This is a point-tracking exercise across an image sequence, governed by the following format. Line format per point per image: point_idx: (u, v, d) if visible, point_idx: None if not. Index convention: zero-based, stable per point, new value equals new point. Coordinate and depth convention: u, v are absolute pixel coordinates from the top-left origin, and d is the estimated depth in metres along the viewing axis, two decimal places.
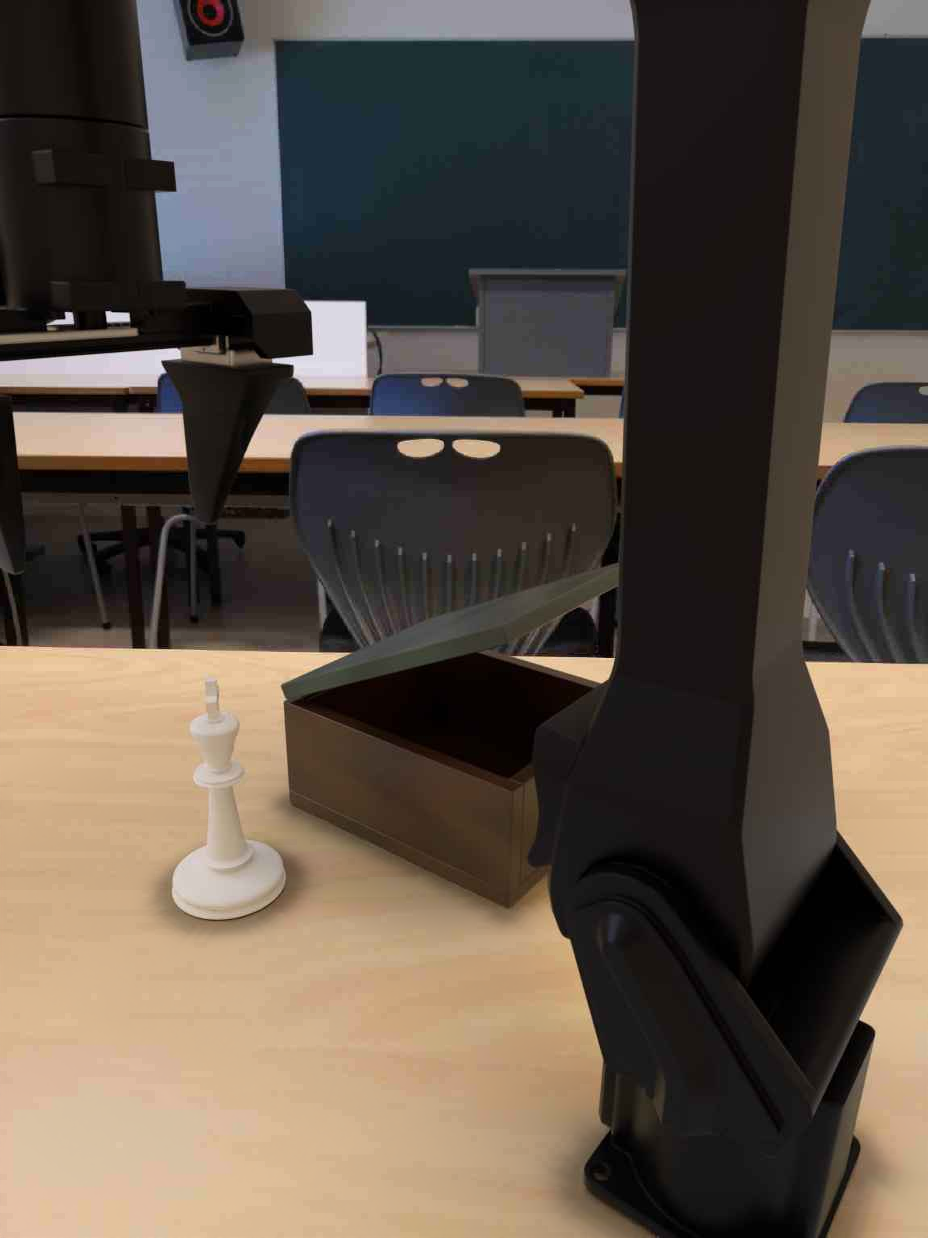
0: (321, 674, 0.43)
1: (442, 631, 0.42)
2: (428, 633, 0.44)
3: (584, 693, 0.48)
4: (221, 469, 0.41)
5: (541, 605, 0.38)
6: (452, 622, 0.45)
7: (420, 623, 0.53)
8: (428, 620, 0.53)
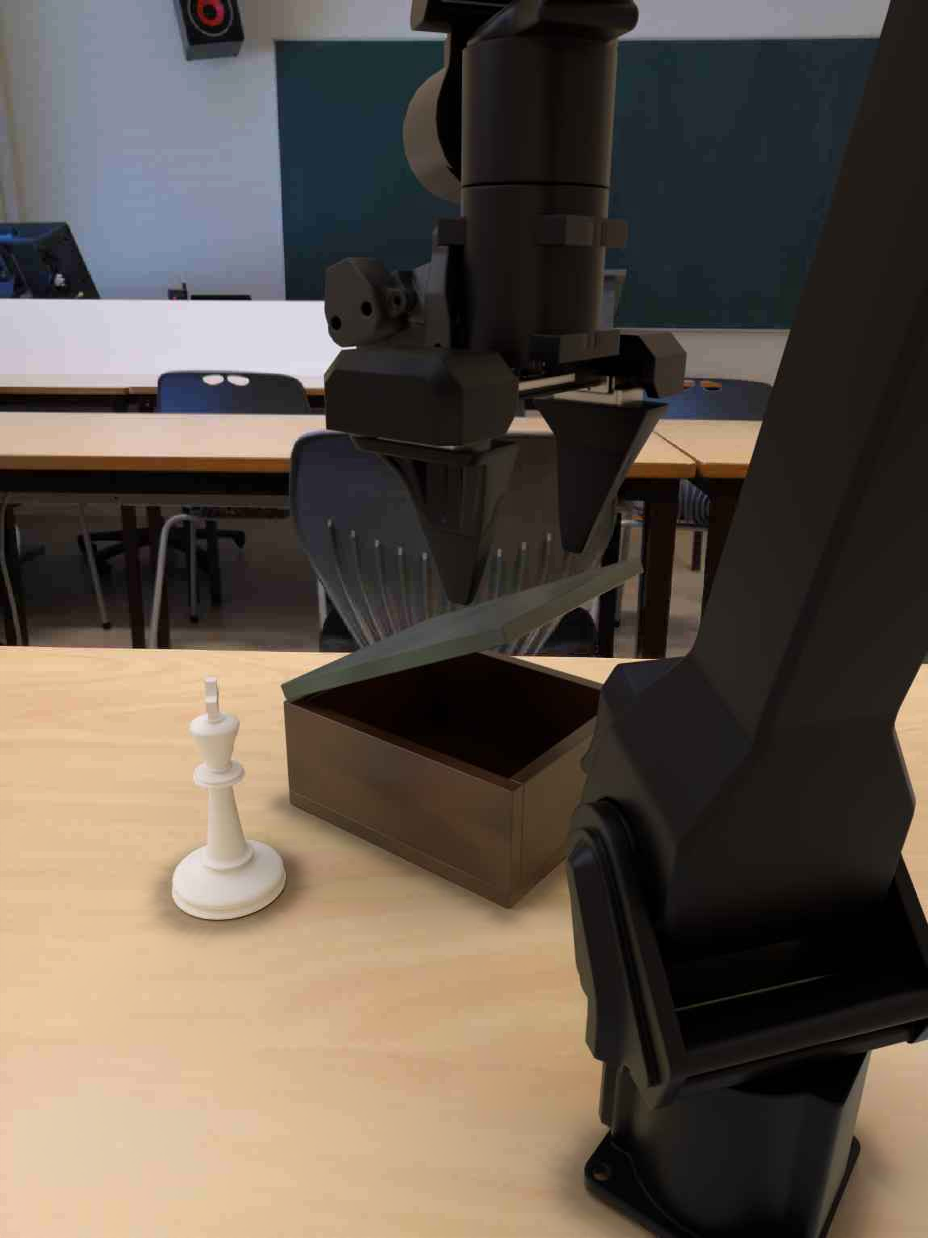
0: (321, 674, 0.43)
1: (442, 631, 0.42)
2: (428, 633, 0.44)
3: (584, 693, 0.48)
4: (601, 502, 0.43)
5: (541, 605, 0.38)
6: (452, 622, 0.45)
7: (420, 623, 0.53)
8: (428, 620, 0.53)
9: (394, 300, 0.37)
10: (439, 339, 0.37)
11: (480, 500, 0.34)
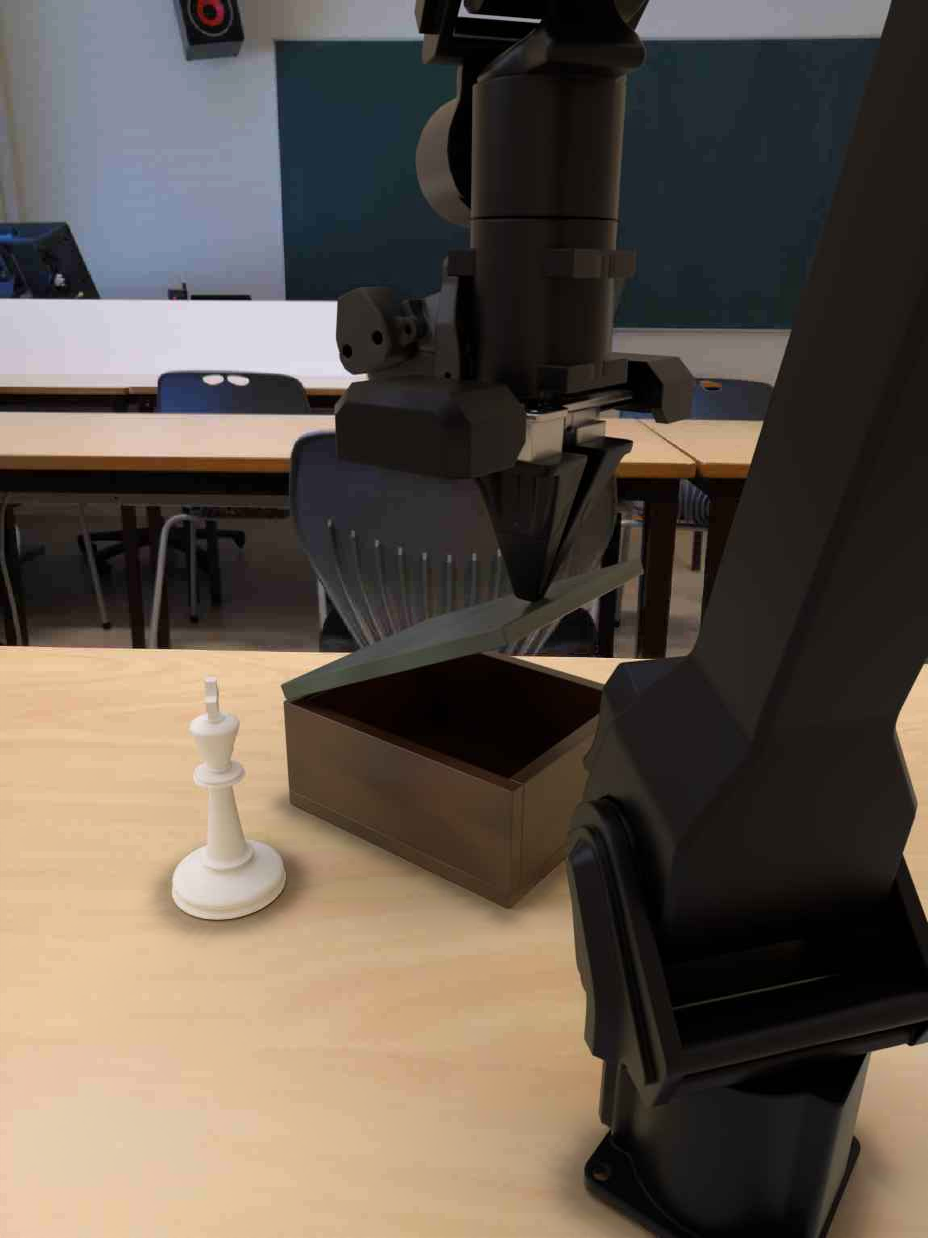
0: (321, 674, 0.43)
1: (442, 632, 0.42)
2: (428, 634, 0.44)
3: (584, 693, 0.48)
4: (560, 546, 0.40)
5: (542, 606, 0.38)
6: (452, 623, 0.45)
7: (420, 623, 0.53)
8: (428, 620, 0.53)
9: (404, 329, 0.38)
10: (449, 368, 0.38)
11: (552, 507, 0.38)
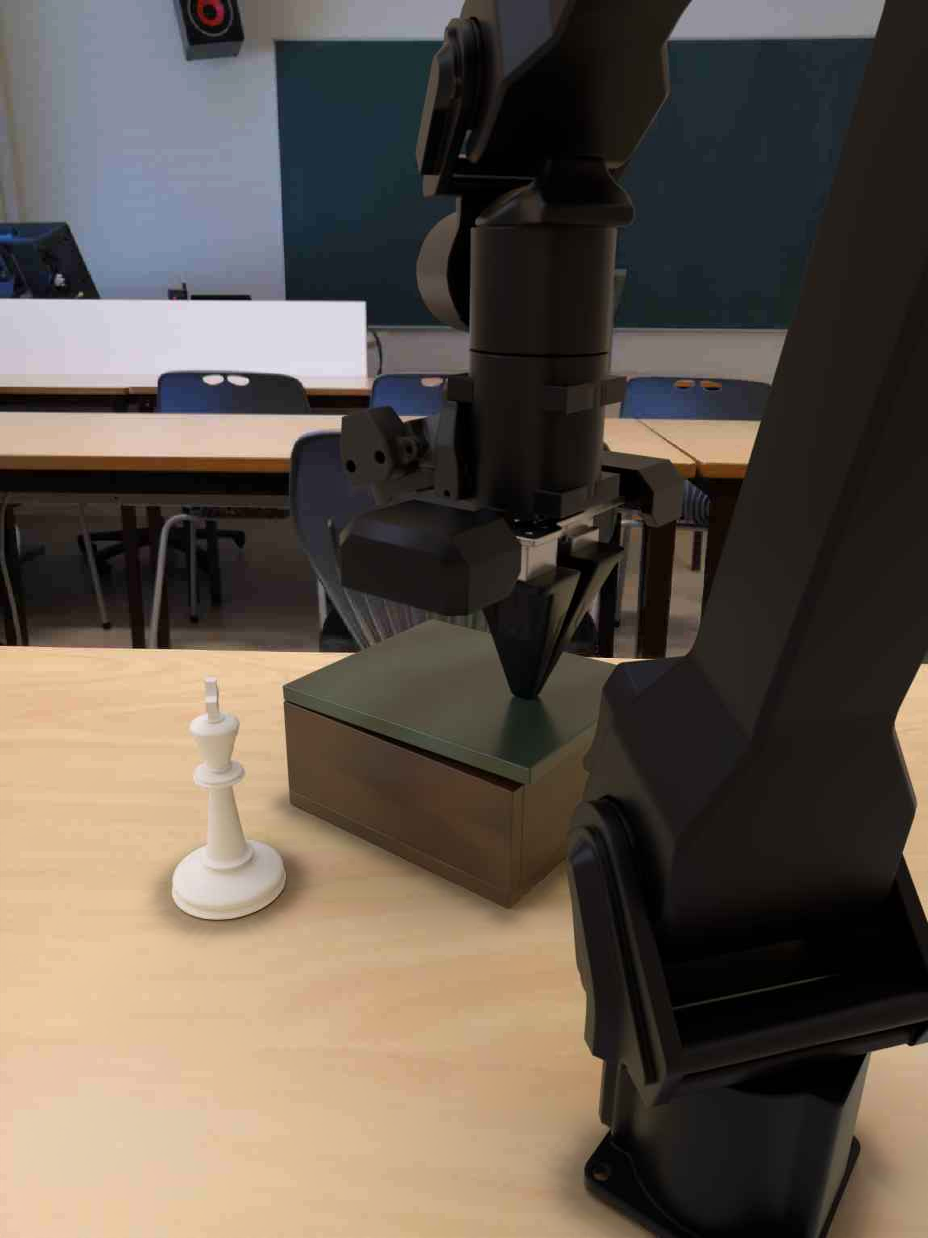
0: (329, 701, 0.44)
1: (459, 703, 0.43)
2: (442, 689, 0.45)
3: None
4: (554, 649, 0.42)
5: (567, 741, 0.39)
6: (465, 677, 0.46)
7: (423, 628, 0.52)
8: (432, 627, 0.53)
9: (406, 448, 0.40)
10: (448, 486, 0.39)
11: (546, 619, 0.39)
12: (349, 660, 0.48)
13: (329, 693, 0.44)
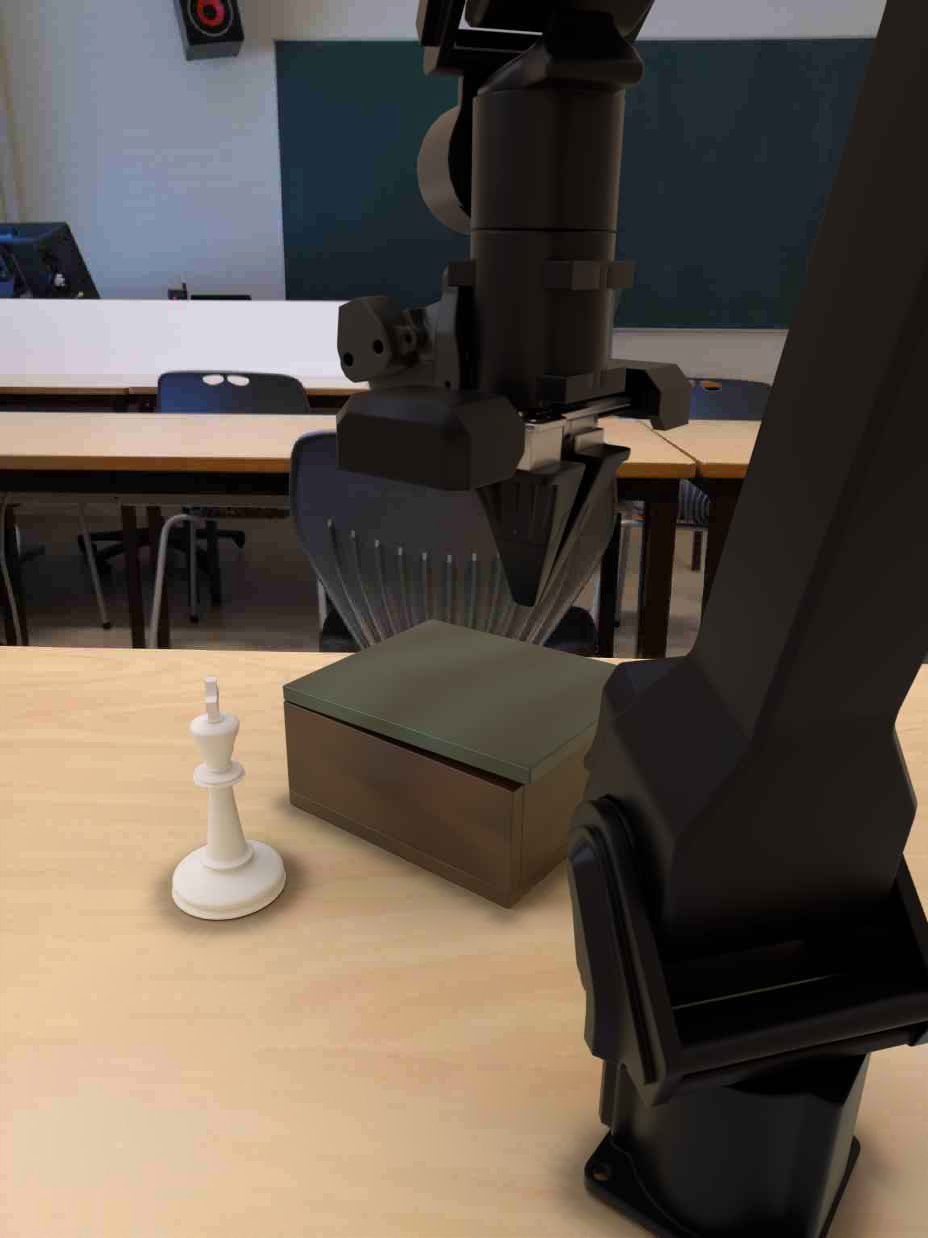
0: (329, 701, 0.44)
1: (459, 703, 0.43)
2: (442, 689, 0.45)
3: None
4: (558, 552, 0.41)
5: (567, 741, 0.39)
6: (465, 677, 0.46)
7: (423, 628, 0.52)
8: (432, 627, 0.53)
9: (405, 338, 0.38)
10: (448, 377, 0.38)
11: (550, 515, 0.38)
12: (349, 660, 0.48)
13: (329, 693, 0.44)
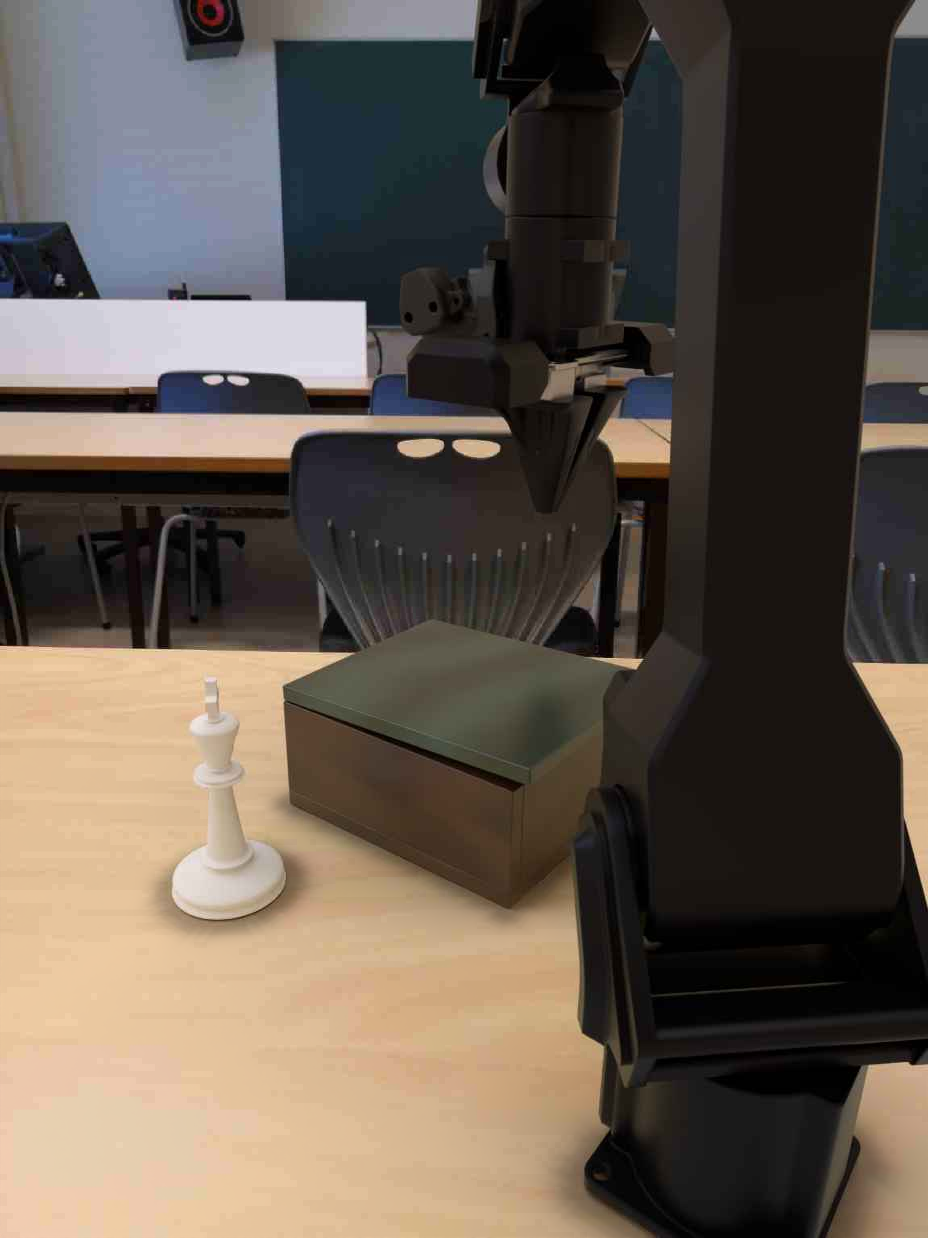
0: (329, 701, 0.44)
1: (459, 703, 0.43)
2: (442, 689, 0.45)
3: None
4: (571, 469, 0.52)
5: (567, 741, 0.39)
6: (465, 677, 0.46)
7: (423, 628, 0.52)
8: (432, 627, 0.53)
9: (453, 300, 0.50)
10: (487, 330, 0.49)
11: (565, 436, 0.49)
12: (349, 660, 0.48)
13: (329, 693, 0.44)
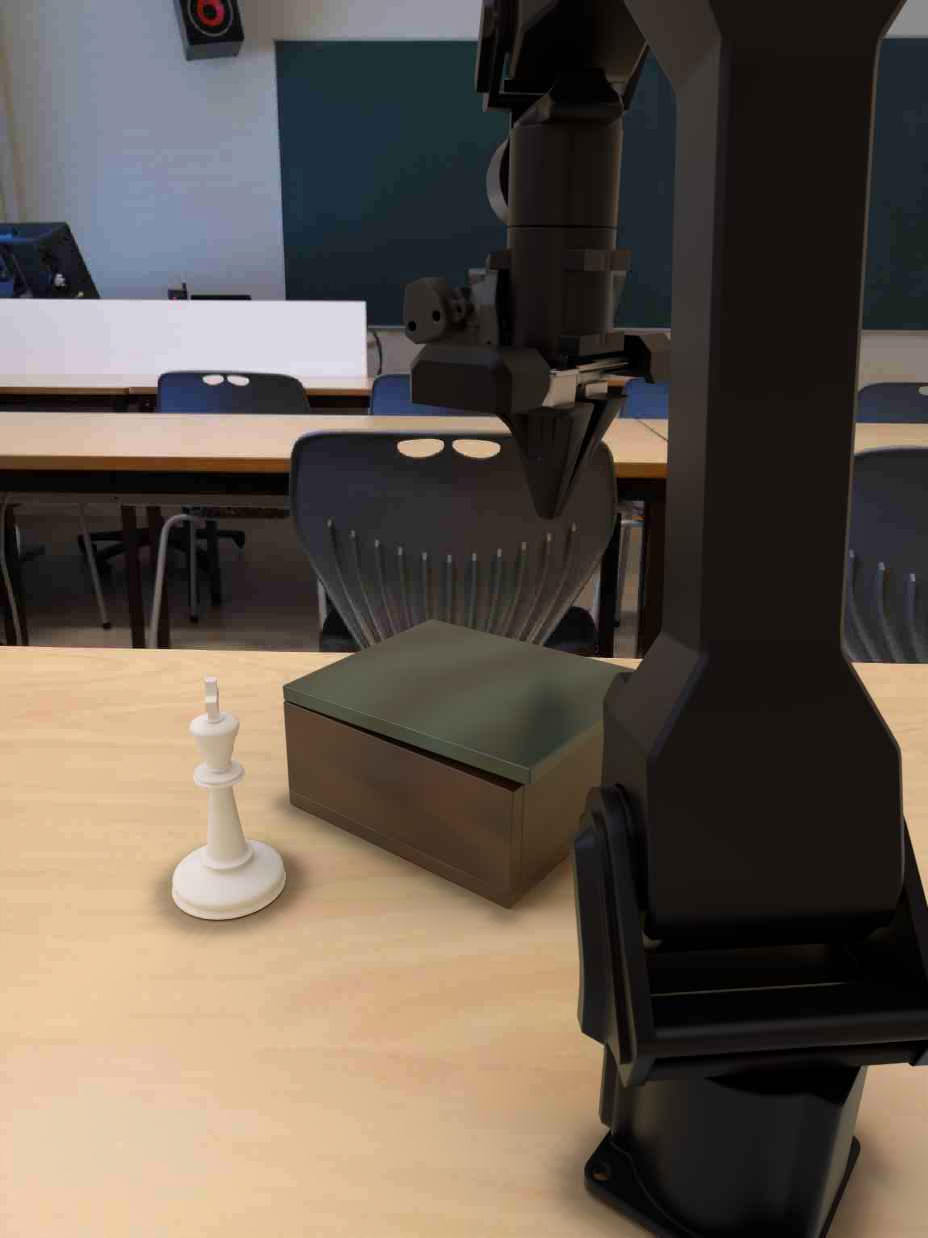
0: (329, 701, 0.44)
1: (459, 703, 0.43)
2: (442, 689, 0.45)
3: None
4: (572, 475, 0.53)
5: (567, 741, 0.39)
6: (465, 677, 0.46)
7: (423, 628, 0.52)
8: (432, 627, 0.53)
9: (456, 309, 0.50)
10: (490, 338, 0.50)
11: (567, 442, 0.50)
12: (349, 660, 0.48)
13: (329, 693, 0.44)
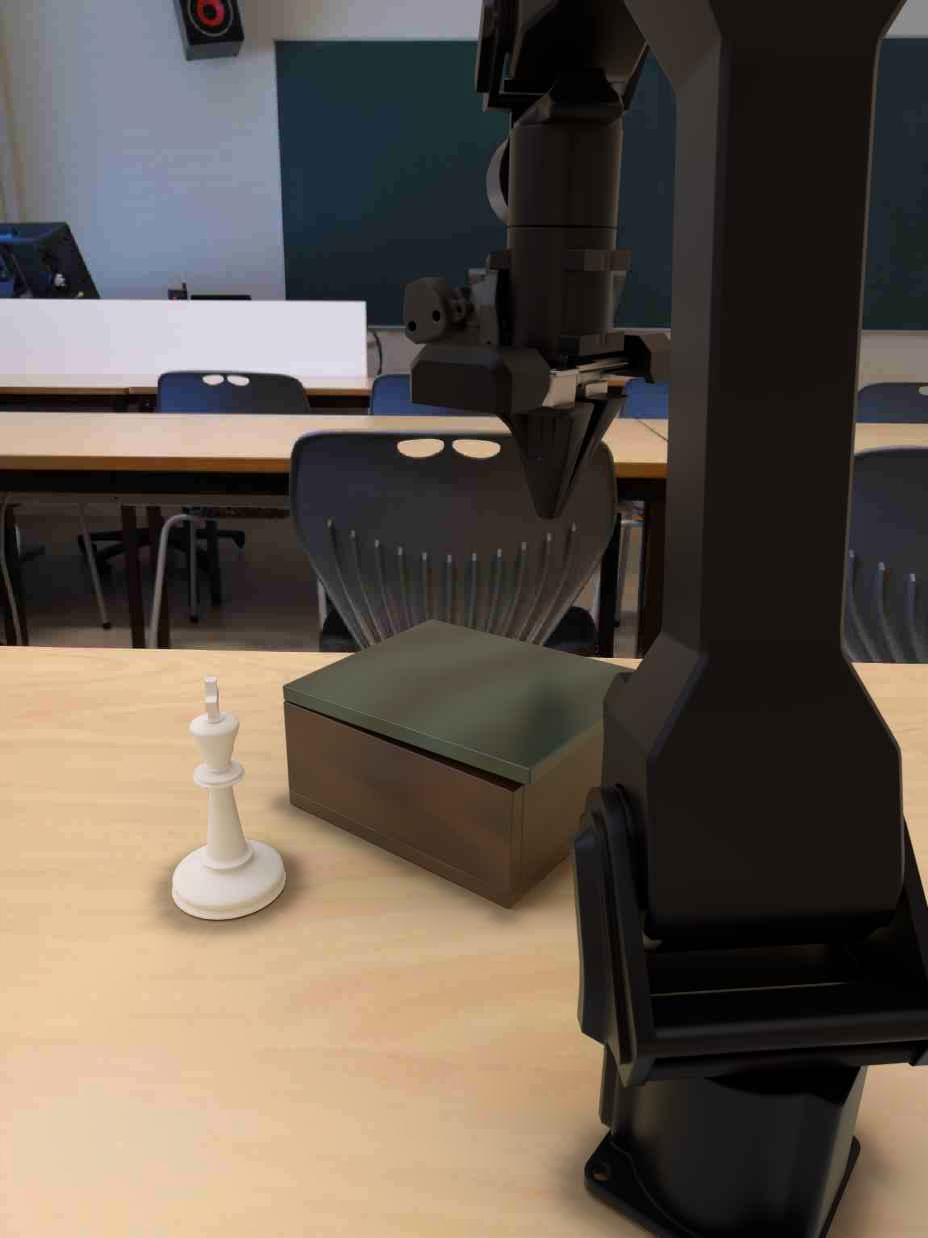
0: (329, 701, 0.44)
1: (459, 703, 0.43)
2: (442, 689, 0.45)
3: None
4: (572, 475, 0.53)
5: (567, 741, 0.39)
6: (465, 677, 0.46)
7: (423, 628, 0.52)
8: (432, 627, 0.53)
9: (456, 309, 0.50)
10: (490, 338, 0.50)
11: (567, 442, 0.50)
12: (349, 660, 0.48)
13: (329, 693, 0.44)
